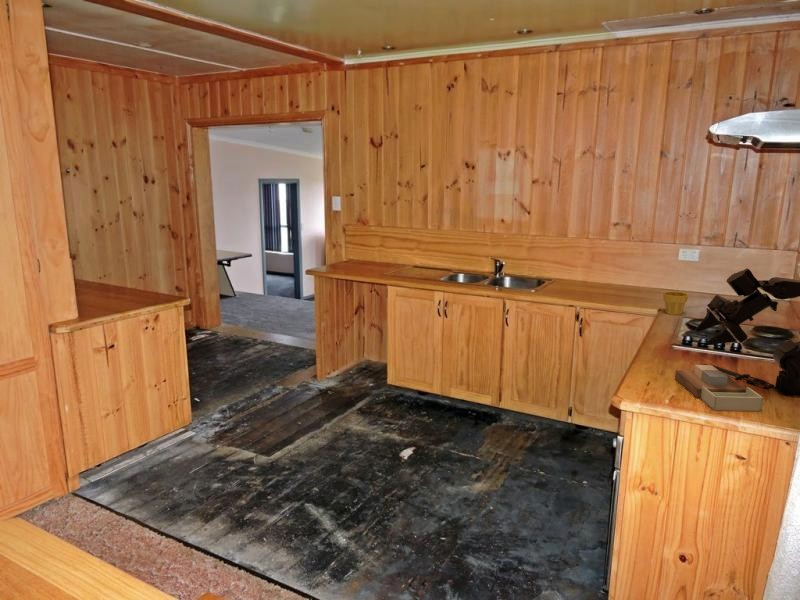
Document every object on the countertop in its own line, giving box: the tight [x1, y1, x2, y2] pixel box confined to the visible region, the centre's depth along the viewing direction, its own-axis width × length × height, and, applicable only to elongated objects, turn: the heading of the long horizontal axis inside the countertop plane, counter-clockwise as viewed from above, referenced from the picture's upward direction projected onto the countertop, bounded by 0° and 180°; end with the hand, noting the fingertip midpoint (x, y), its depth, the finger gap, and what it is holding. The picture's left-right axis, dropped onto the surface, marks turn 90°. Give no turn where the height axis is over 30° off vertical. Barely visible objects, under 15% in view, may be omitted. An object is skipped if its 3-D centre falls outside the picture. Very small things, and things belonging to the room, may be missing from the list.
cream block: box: [693, 364, 719, 379], centre depth 173 cm, size 5×5×3 cm
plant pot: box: [662, 291, 689, 316], centre depth 262 cm, size 10×10×10 cm
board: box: [674, 369, 746, 399], centre depth 171 cm, size 14×16×3 cm
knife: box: [698, 362, 775, 390], centre depth 183 cm, size 25×6×1 cm, turn 18°
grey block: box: [702, 371, 729, 386], centre depth 168 cm, size 5×5×3 cm
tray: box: [700, 386, 764, 412], centre depth 159 cm, size 13×8×4 cm, turn 85°
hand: (701, 337), depth 172 cm, fingers open, 9 cm apart
